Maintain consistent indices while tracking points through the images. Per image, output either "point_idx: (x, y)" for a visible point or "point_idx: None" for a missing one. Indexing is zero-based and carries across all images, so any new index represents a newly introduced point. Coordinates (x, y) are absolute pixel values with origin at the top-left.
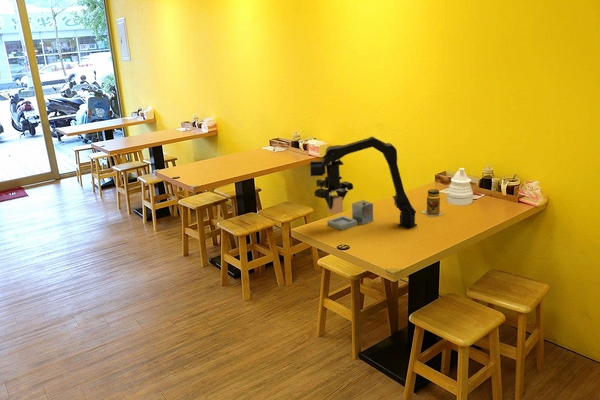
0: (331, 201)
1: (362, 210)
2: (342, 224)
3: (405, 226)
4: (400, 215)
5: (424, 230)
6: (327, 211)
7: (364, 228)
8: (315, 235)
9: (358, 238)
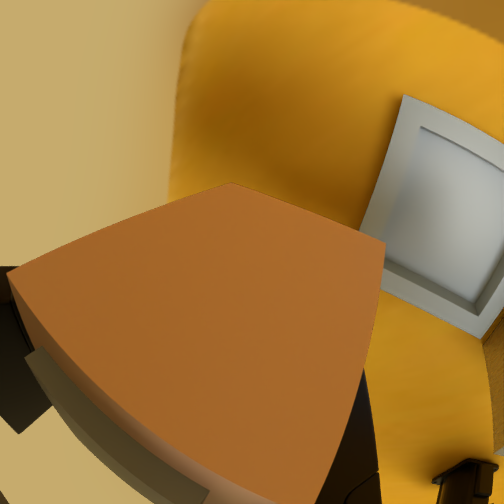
0: None
1: (495, 426)
2: None
3: (444, 477)
4: (470, 496)
5: (422, 498)
6: (227, 187)
7: (426, 371)
8: (203, 141)
9: None
